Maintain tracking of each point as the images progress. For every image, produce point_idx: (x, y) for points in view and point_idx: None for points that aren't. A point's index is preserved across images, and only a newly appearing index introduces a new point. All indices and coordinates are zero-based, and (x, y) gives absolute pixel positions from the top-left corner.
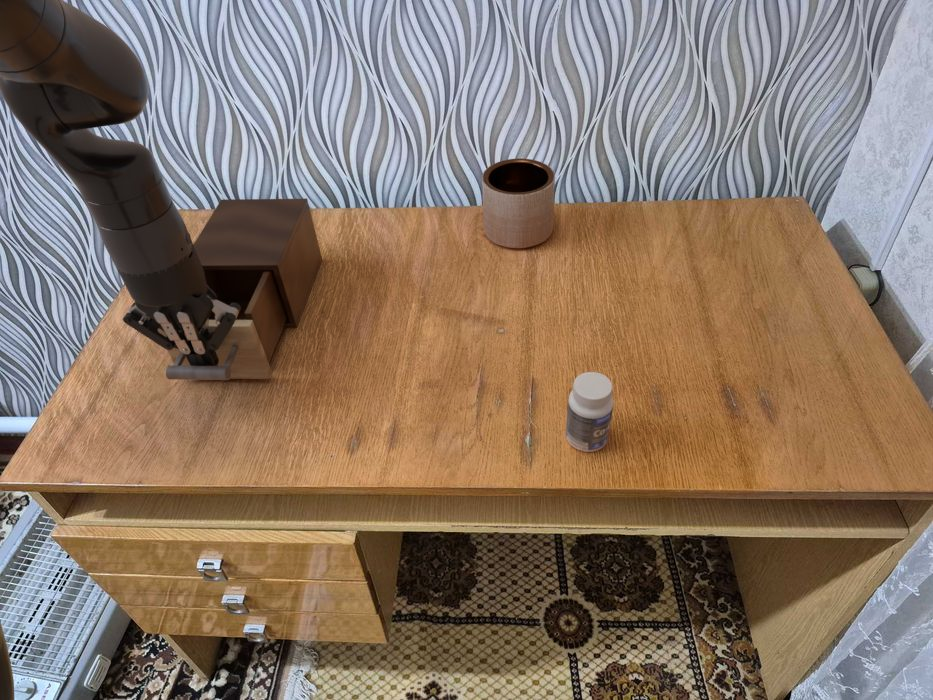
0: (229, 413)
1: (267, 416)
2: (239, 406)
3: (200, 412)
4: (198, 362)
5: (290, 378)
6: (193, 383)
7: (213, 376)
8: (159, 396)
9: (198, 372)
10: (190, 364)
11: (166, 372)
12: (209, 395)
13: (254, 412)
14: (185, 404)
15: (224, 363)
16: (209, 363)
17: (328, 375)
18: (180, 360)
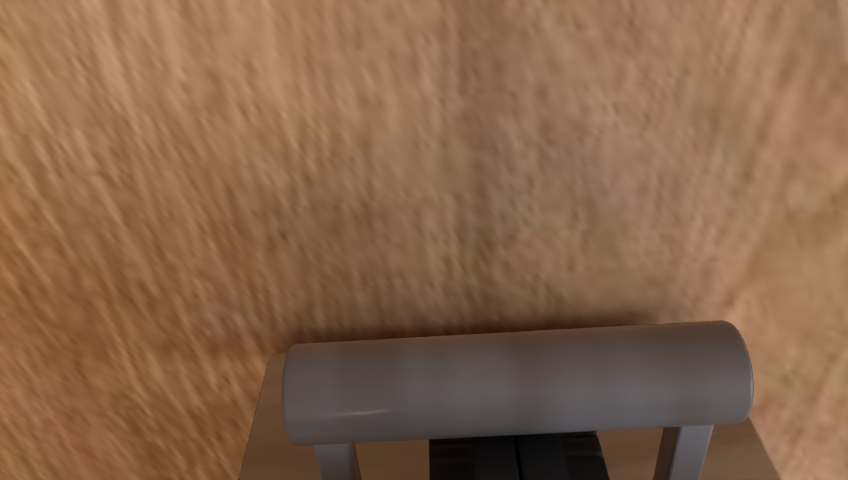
0: (400, 166)
1: (193, 164)
2: (368, 209)
3: (556, 159)
4: (518, 458)
5: (209, 360)
6: (646, 308)
7: (374, 365)
8: (799, 231)
9: (488, 389)
10: (593, 433)
11: (745, 373)
12: (545, 255)
13: (273, 182)
14: (651, 198)
15: (348, 456)
16: (453, 450)
17: (54, 383)
18: (671, 455)
